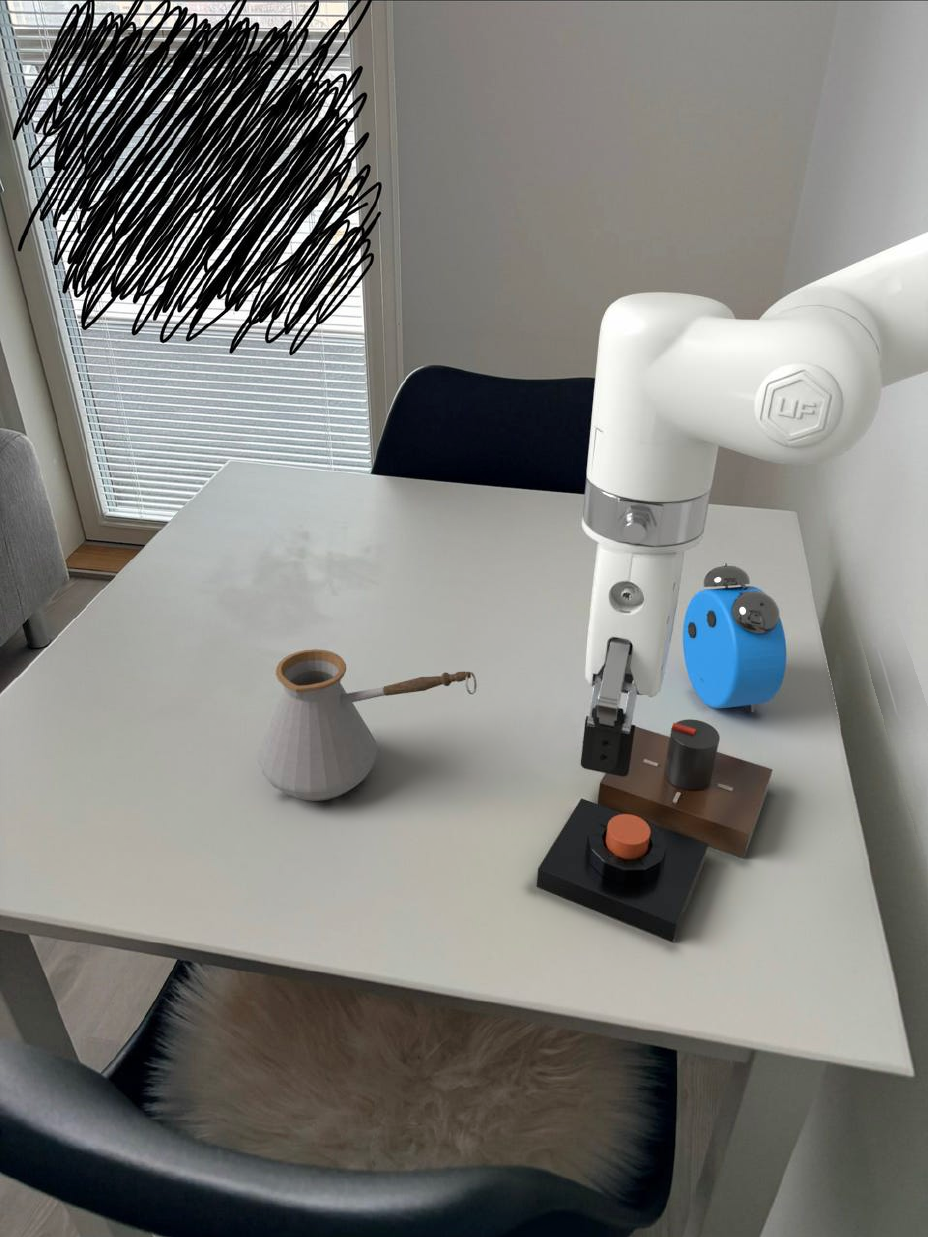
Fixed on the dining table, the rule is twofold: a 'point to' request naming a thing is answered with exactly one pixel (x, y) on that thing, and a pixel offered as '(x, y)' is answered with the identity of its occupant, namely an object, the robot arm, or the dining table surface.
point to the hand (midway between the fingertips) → (615, 727)
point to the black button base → (623, 872)
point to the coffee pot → (325, 726)
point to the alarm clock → (733, 642)
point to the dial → (691, 754)
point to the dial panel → (690, 795)
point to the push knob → (627, 836)
